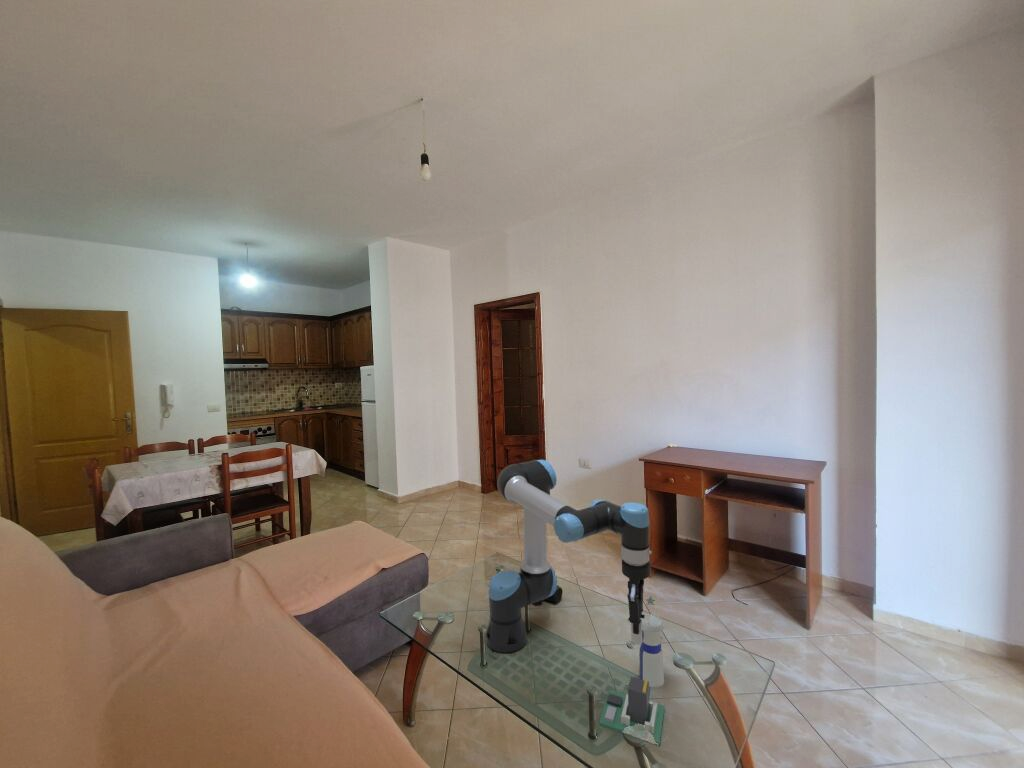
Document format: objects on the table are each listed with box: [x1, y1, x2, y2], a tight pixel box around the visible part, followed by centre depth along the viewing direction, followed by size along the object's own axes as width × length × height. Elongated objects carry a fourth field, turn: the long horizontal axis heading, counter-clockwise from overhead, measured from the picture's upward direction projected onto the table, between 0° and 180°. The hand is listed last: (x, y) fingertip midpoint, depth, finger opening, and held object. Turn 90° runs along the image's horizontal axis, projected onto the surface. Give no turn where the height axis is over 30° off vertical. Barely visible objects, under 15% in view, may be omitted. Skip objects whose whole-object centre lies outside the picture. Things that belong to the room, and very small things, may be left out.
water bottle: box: [638, 595, 665, 688], centre depth 133 cm, size 8×9×25 cm
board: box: [598, 689, 665, 745], centre depth 119 cm, size 16×13×3 cm
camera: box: [531, 585, 563, 606], centre depth 181 cm, size 16×10×10 cm, turn 141°
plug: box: [627, 676, 650, 725], centre depth 118 cm, size 5×5×9 cm
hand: (636, 641), depth 117 cm, fingers closed
